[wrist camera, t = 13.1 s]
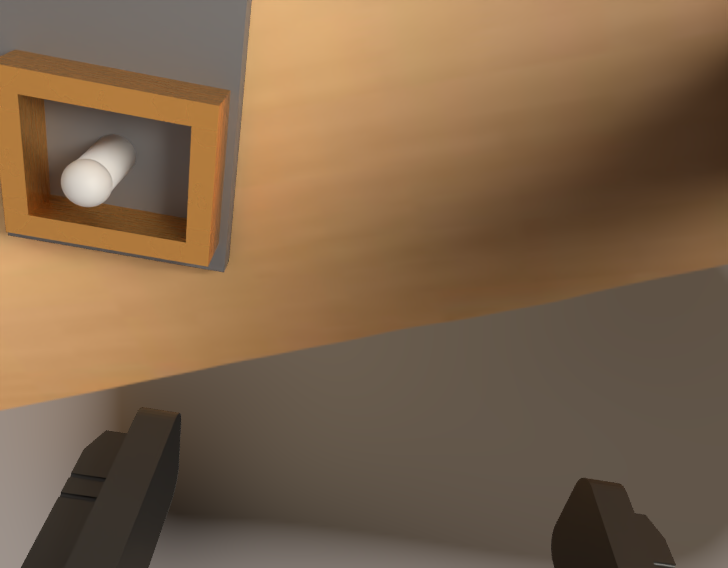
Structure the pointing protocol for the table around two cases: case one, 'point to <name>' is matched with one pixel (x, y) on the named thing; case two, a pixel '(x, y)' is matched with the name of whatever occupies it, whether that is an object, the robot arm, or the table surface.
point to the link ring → (121, 95)
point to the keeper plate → (127, 132)
